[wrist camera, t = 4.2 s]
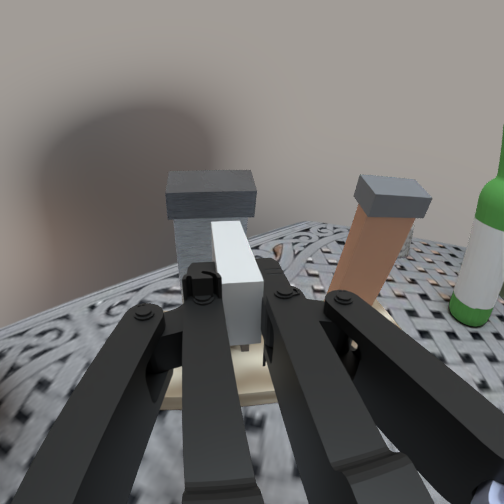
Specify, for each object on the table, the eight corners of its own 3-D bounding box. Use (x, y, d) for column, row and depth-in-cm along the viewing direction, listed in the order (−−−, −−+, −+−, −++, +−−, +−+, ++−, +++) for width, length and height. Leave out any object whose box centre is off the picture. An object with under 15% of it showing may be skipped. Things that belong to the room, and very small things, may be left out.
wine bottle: (491, 331, 36) (545, 134, 24) (451, 326, 38) (501, 117, 26) (479, 305, 43) (521, 131, 30) (443, 299, 45) (481, 117, 32)
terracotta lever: (360, 336, 34) (432, 198, 21) (316, 342, 33) (375, 194, 20) (352, 317, 36) (414, 179, 23) (310, 322, 35) (359, 174, 23)
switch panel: (420, 371, 31) (435, 339, 29) (126, 409, 26) (113, 374, 23) (370, 307, 43) (378, 278, 41) (141, 323, 38) (135, 291, 36)
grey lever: (239, 350, 32) (256, 191, 19) (186, 352, 31) (165, 193, 18) (237, 328, 34) (250, 170, 21) (186, 330, 33) (168, 171, 20)
